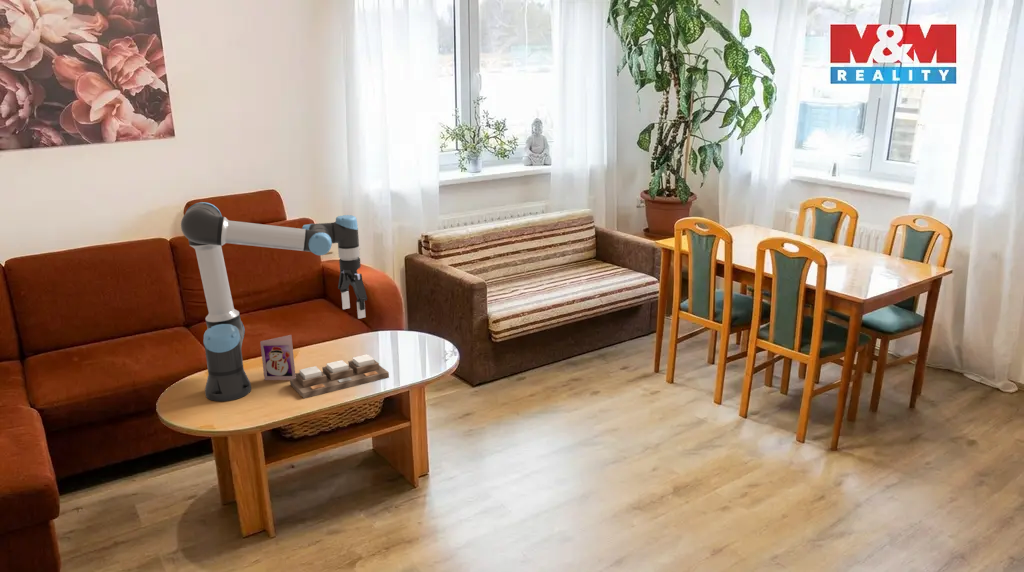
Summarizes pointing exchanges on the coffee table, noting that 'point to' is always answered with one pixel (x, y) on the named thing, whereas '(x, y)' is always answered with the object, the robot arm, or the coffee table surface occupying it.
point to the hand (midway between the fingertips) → (353, 313)
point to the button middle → (337, 366)
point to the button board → (338, 379)
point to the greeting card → (278, 358)
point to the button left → (310, 372)
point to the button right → (363, 360)
